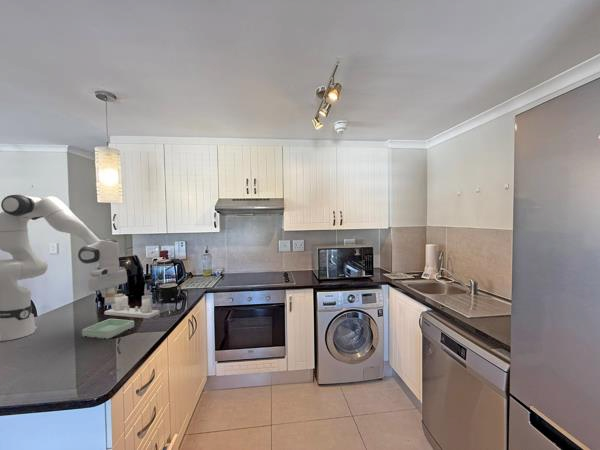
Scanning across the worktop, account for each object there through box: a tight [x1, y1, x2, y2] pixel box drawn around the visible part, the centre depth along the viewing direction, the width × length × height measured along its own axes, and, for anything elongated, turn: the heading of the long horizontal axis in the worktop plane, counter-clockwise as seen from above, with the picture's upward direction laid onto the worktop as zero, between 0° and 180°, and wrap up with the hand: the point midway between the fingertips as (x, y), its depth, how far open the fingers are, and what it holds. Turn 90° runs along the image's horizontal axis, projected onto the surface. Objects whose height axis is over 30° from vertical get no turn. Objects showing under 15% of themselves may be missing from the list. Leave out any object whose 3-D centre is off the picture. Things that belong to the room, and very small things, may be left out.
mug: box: [154, 283, 182, 304], centre depth 199 cm, size 16×16×12 cm
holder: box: [104, 305, 160, 319], centre depth 171 cm, size 32×9×5 cm, turn 79°
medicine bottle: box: [111, 288, 129, 309], centre depth 185 cm, size 7×7×12 cm
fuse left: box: [114, 293, 123, 311], centre depth 173 cm, size 5×5×10 cm
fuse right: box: [141, 294, 151, 313], centre depth 169 cm, size 5×5×10 cm
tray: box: [81, 318, 135, 340], centre depth 144 cm, size 16×16×4 cm
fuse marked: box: [104, 285, 115, 306], centre depth 144 cm, size 5×5×10 cm
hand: (109, 295), depth 144 cm, fingers closed on fuse marked, 5 cm apart
